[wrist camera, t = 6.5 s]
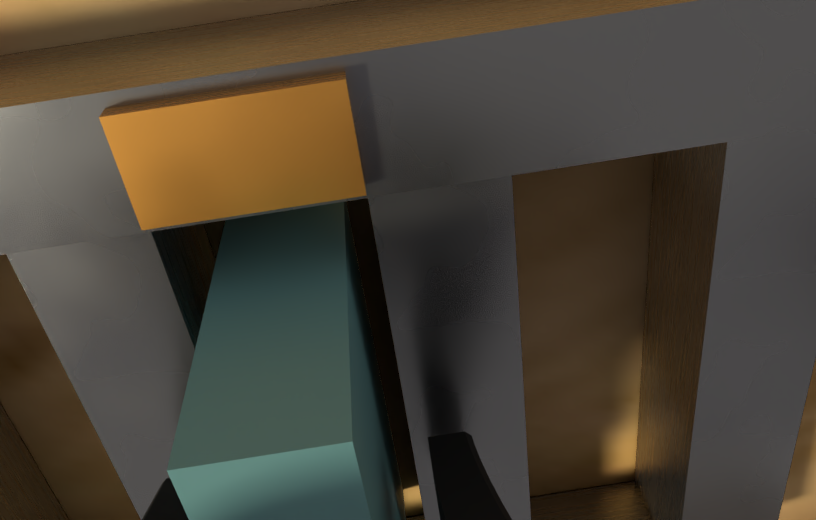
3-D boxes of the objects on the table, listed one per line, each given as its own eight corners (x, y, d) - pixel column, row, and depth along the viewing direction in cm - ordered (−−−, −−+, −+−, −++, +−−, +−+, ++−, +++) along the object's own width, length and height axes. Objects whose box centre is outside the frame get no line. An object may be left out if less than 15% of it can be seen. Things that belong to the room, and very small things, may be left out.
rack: (708, 521, 19) (762, 625, 17) (46, 626, 19) (6, 747, 16) (797, -67, 11) (922, -27, 9) (-322, 105, 11) (-494, 192, 9)
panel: (402, 487, 17) (432, 776, 12) (317, 500, 17) (313, 795, 12) (343, 184, 13) (352, 442, 8) (229, 202, 13) (166, 470, 8)
